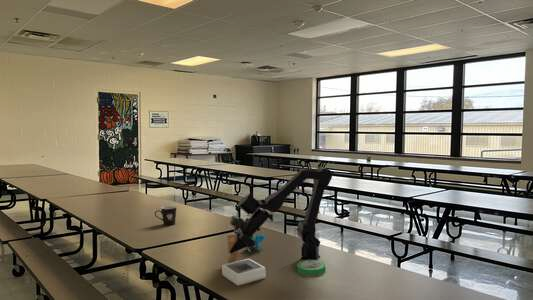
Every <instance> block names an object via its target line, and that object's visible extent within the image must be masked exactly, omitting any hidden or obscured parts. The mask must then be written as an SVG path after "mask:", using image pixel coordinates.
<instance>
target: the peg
mask: <svg viewBox="0 0 533 300" xmlns="http://www.w3.org/2000/svg"><path fill="white" fill-rule="evenodd" d="M237 235H238V234H235V233H234V232H233V233H228V234H227V256H228V259H227V261H228V262H227V264H228V263H232V262H236V261H239V250H238V251H236V252H233V253H230V250H231V248H232V247H233V245H234V244H235V242H236V241H237Z"/></svg>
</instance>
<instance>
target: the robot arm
mask: <svg viewBox="0 0 533 300" xmlns="http://www.w3.org/2000/svg"><path fill="white" fill-rule="evenodd" d="M332 179H333V172H332V171H331V169H329V168H326V167H323V166H319V167H317V168H300V169H299V170H298V172H296V173H295V174H294V175H293V176H292V177H291V178H290V179H289V180H288V181H287V182H286V183H285V184H284V185H283V186H281V188H280V189H278V190H277V191H274V192H273V193H270V195H267V196H266V197H265V198H264V199H259V200H257V199H256V198H255V197H254V196H253V195H252V194H251V193H248V194H247V195H245V196H243V197H242V198H241V199H240V200H239V202H238V204H237V206H238V207H239V208H240V209H241V210H242V211H244V212H245V213H246V214H247V215H251V216H250V217H246V218H245V219H243V218H241V217H239V216H235V215H232V217H231V219H230V221H229V224H230V225H231V226H233V228H234V229H233V233H235V234H238V235H237V241H236V242H235V244H234V245H233V247H232V248H231V250H230V253H233V252H236V251H238V252H239V250H240V251H241V250H242V249H246V247H250V248H249V249H253V248H254V247H255V246H254V245H255V241H254V240H253V239H252V238H253V237H254V235H255V234H256V233H257V232H260V231H261V229H260V228H261V227H262V226H263V225H264V224H265V223H266V221H267V220H268V219H269V220H270V221H271V222H273V221H274V214H273V213H277V212H278V211H279V210H280V209H281V207H282V206H283V204H284V203H285V200H286V199H287V198H288V197H289V196H290V195H291V194H292V193H293V192H295V190H296V189H297V188H298V187H299V186H300V185H302V184H303V183H304V182H305V181H306V180H313V189H312V193H311V196H310V199H309V202H308V206H307V210H306V212H305V217H304V219H303V220H302V221H300V220H299V221H298V223H297V224H298V225H297V228H296V230H295V231H297V232H296V234H297V237H298V238H300V240H301V242H302V246H301V247H300V248H301V253H300V254H301V258H300V259H301V260H302V261H303V260H319V258H321V256H320V255H319V254H320V253H319V252H320V251H319V250H320V249H319V247H320V244H321V241H320V240H319V239H318V238H317V237H316V221H317V216H318V214H319V210H320V206H321V203H322V199H323V196H324V192H325V191H326V189H327V187H328V186H329V184H330V183H331V181H332ZM269 212H270V213H269ZM253 246H254V247H253Z"/></svg>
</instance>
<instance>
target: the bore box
mask: <svg viewBox="0 0 533 300" xmlns="http://www.w3.org/2000/svg"><path fill="white" fill-rule="evenodd" d="M266 274H267V273H266V267H265V266H264V265H262V264H260V263H258V262H256V261H254V260H253V259H251V258H245V259H244V258H243V259H241V260H238V261H236V262H232V263H228V262H227V263H225V264H221V275H222V277H224V278H226V279H227V280H229V281H230V282H231V283H233V284H234V285H236V286H237V287H238V286H242V285H246V284H249V283H253V282H256V281H261V280H263V279H266V276H267V275H266Z"/></svg>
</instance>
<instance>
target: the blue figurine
mask: <svg viewBox="0 0 533 300" xmlns="http://www.w3.org/2000/svg"><path fill="white" fill-rule="evenodd" d="M265 238H266V236H265V235H264V234H259V235H258V234H257V235H255V237H254V236H253V238H252V239H253V240H254V241H255V245H254V246H253V248H254V247H256V249H257V251H258V252H260V251H261V247H259V246H260V245H259V244H260V243H263V241H264V240H265ZM245 249H247V250H248V253H251V248H250V247H245Z"/></svg>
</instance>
